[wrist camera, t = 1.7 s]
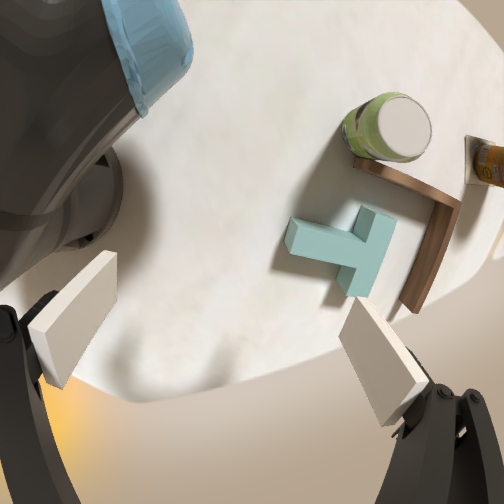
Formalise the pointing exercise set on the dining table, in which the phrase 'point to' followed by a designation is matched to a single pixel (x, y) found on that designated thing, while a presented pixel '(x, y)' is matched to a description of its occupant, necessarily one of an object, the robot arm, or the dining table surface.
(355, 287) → the t block
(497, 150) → the condiment
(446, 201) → the corner fence
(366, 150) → the beverage can
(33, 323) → the robot arm
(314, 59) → the dining table surface
